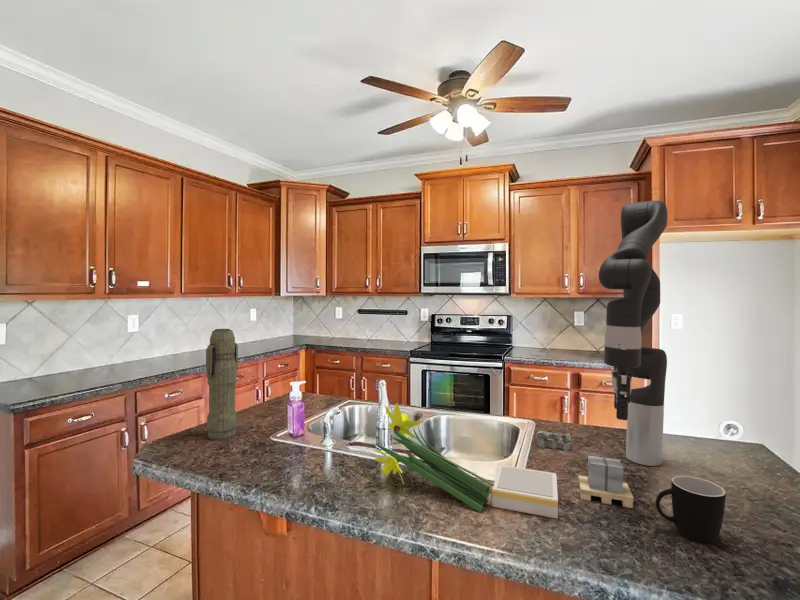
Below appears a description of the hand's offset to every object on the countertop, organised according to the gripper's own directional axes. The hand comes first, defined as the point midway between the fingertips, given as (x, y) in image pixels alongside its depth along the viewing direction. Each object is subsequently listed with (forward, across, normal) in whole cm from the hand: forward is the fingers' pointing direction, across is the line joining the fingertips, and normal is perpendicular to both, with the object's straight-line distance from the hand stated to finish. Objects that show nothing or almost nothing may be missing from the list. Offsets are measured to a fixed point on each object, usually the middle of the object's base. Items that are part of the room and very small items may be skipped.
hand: (620, 414), depth 96 cm
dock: (+21, +8, -20) cm, 30 cm away
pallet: (+21, -2, -3) cm, 21 cm away
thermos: (+21, +11, -116) cm, 119 cm away
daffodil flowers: (+21, +13, -42) cm, 49 cm away
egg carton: (+22, -31, -17) cm, 41 cm away
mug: (+21, +8, +12) cm, 26 cm away
